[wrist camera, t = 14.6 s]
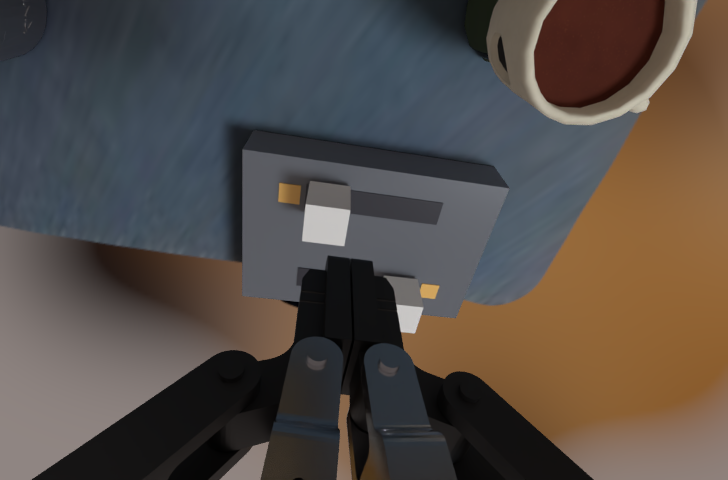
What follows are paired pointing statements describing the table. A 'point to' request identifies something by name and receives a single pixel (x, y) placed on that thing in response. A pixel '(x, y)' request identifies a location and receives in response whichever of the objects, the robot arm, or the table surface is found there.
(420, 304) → the tab far
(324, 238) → the tab near
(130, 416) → the robot arm
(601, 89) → the character mug
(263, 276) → the switch box
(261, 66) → the table surface
